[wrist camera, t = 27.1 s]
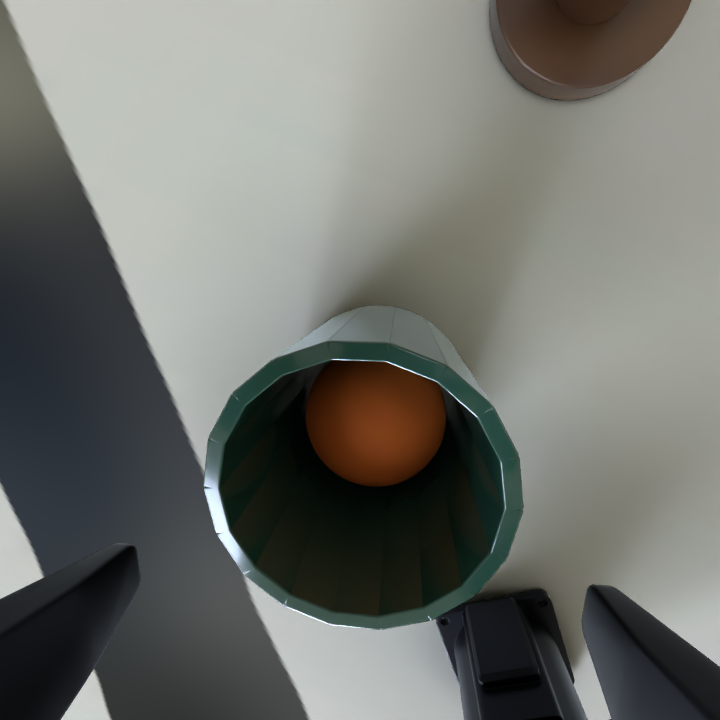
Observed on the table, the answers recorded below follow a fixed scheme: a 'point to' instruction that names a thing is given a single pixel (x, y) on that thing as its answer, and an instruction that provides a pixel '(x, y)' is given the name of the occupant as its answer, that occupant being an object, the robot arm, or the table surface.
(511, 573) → the table surface
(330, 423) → the ball
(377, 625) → the green cup
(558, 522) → the table surface
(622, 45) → the ball stand
